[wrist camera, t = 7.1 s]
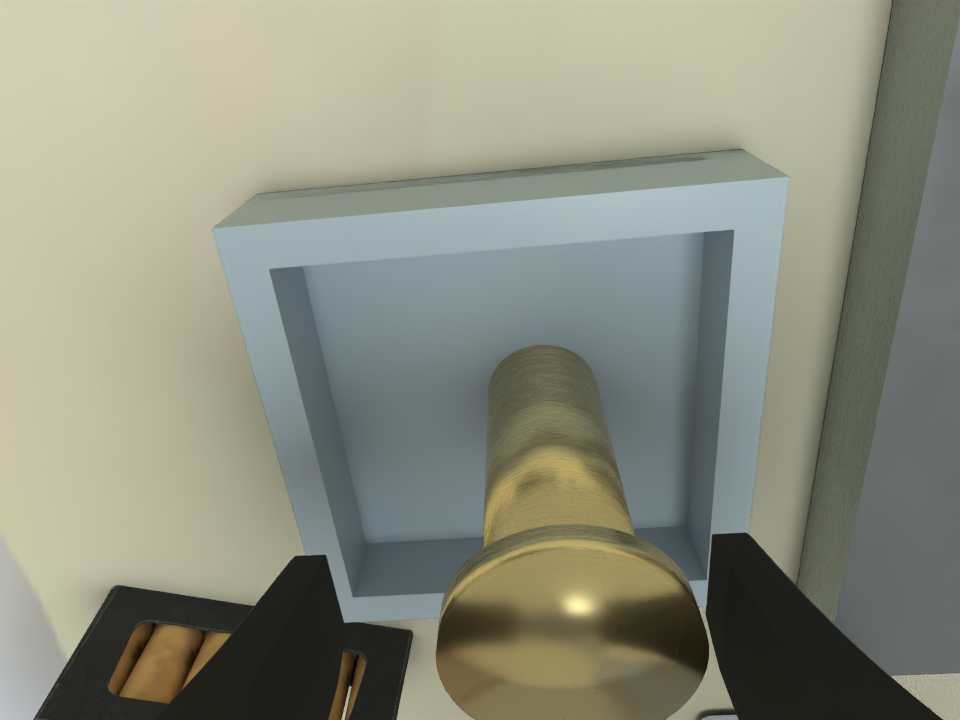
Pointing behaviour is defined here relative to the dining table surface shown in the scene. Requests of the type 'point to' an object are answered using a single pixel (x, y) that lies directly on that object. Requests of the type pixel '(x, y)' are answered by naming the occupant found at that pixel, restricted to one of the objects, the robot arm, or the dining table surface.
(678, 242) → the tray
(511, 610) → the gold flared cylinder
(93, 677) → the ammunition clip
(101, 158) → the dining table surface
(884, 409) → the metal plate with hole
